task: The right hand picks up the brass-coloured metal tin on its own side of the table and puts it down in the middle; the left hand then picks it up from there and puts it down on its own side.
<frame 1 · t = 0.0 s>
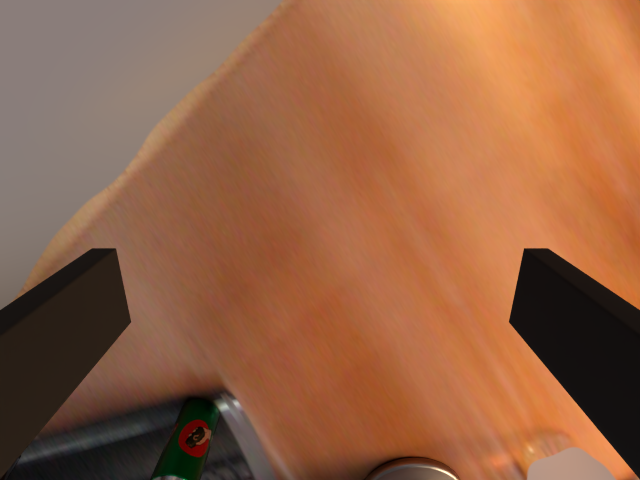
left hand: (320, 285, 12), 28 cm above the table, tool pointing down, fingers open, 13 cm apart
soda can: (201, 409, 50), on the table
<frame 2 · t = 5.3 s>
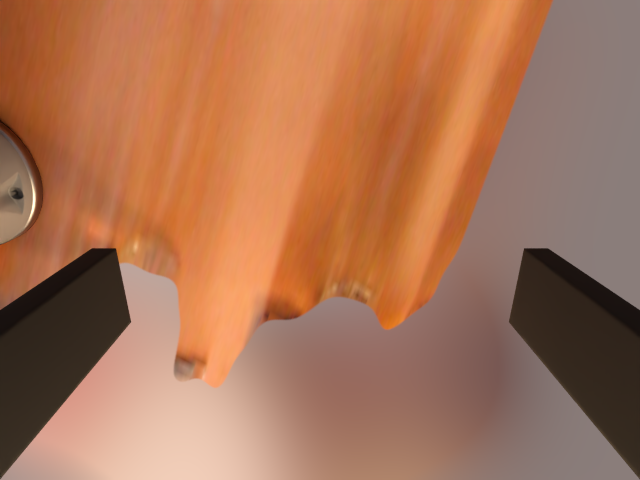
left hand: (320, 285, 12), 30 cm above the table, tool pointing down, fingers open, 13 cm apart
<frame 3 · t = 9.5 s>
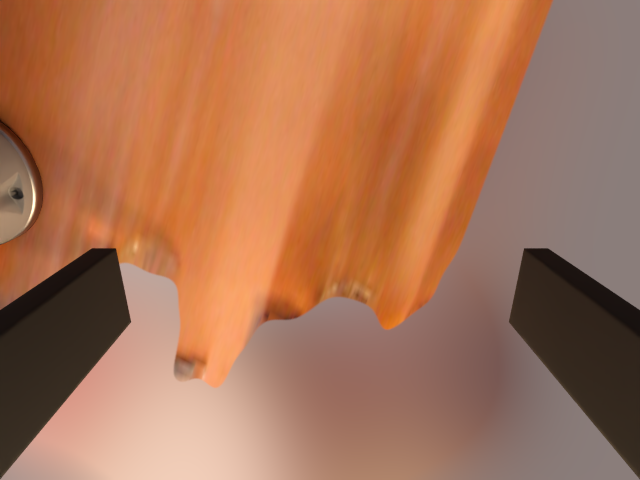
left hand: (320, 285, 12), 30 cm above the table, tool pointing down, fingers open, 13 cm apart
when the right hand's fingers open (2 cm above the table, at t = 13.8 s): tin stays where it is, on the table.
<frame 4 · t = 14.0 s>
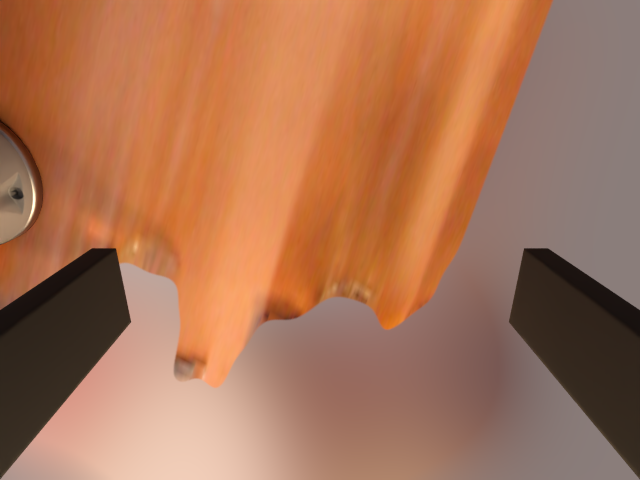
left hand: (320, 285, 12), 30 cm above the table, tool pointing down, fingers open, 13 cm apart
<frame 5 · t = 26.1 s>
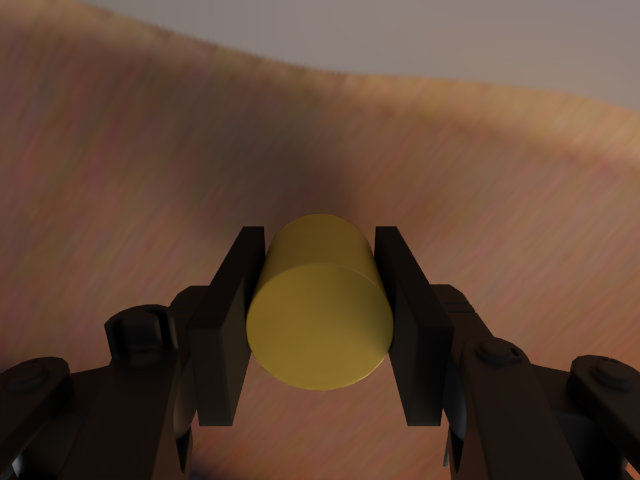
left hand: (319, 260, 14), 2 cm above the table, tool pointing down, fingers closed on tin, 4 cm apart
tin: (319, 264, 15), point 1 cm above the table, touching left hand
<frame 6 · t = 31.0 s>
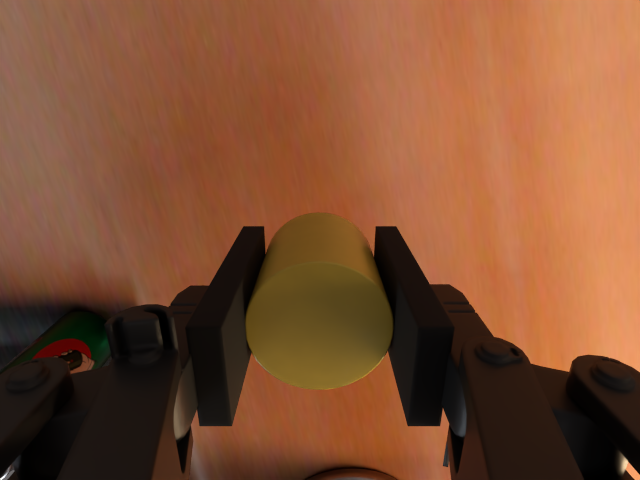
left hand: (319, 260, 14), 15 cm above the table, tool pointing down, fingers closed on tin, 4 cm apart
soda can: (91, 331, 33), on the table
tin: (319, 263, 15), point 14 cm above the table, touching left hand
when the left hand's fingers open (1 cm above the table, at t = 36.2 s): tin stays where it is, on the table.
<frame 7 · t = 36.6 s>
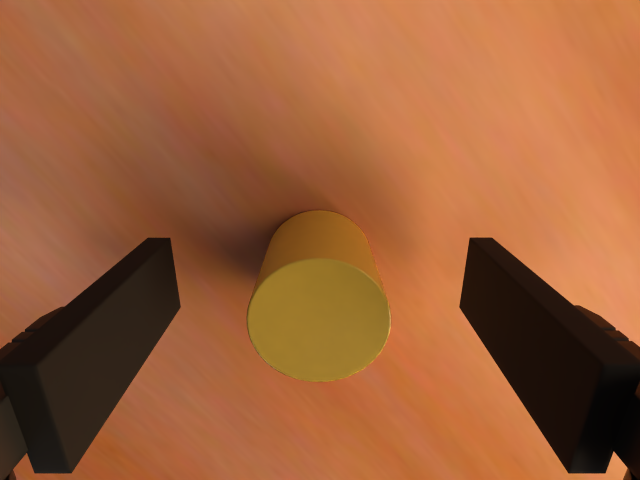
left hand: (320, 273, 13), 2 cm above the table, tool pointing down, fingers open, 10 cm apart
tin: (319, 259, 15), on the table
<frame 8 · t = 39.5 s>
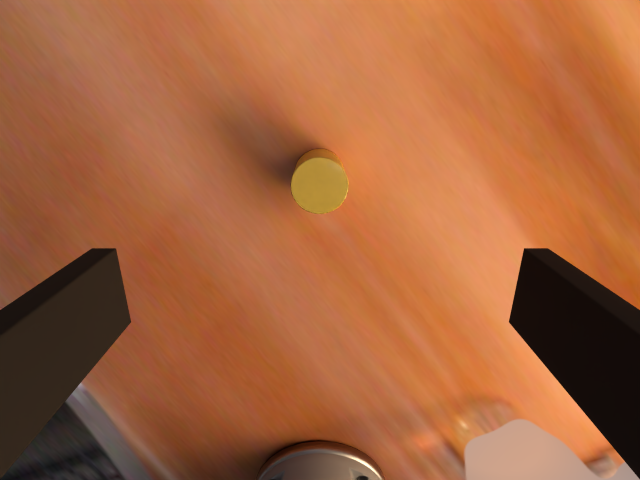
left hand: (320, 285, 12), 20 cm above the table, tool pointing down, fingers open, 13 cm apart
tin: (319, 174, 32), on the table
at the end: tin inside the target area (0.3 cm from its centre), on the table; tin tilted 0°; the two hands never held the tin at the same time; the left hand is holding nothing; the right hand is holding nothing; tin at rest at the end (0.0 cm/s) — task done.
